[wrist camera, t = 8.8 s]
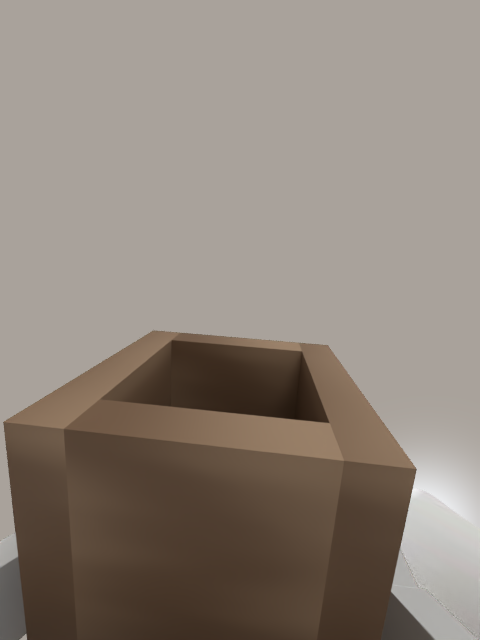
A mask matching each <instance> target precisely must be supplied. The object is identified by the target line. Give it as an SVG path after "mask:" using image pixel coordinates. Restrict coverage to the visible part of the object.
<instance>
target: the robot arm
mask: <svg viewBox="0 0 480 640" xmlns="http://www.w3.org/2000/svg"><path fill="white" fill-rule="evenodd" d="M25 634H26V624H25V615H24V606H23V596H22V587H21V578H20V569H19V560H18V551H17V542H16V532H15V533H14V534H12V535H10V536H8V537H6V538H4V539H2V540H1V541H0V640H19V639H20V638H22V637H23V636H24V635H25ZM381 640H478V639H477V638H476V637H475V636H474V635H473V634H472V633H471V632H470V631H469V630H468V629H467V628H466V627H465V626H464V625H463V624H462V623H461V622H459V621H458V620H457V619H456V618H455V617H454V616H453V615H452V614H451V613H450V612H449V611H448V610H447V609H446V608H445V607H444V606H443V605H442V604H441V603H440V602H439V601H438V600H437V599H436V598H435V597H434V596H433V595H432V594H430V593H429V592H428V591H427V590H426V589H422V588H419V587H418V585H417V583H416V581H415V579H414V577H413V575H412V573H411V570H410V568H409V566H408V564H407V562H406V560H405V558H404V555H403V553H402V551H401V549H400V551H399V555H398V560H397V565H396V570H395V574H394V579H393V584H392V589H391V594H390V598H389V603H388V608H387V613H386V617H385V622H384V627H383V632H382V636H381Z"/></svg>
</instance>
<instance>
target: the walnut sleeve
mask: <svg viewBox="0 0 480 640" xmlns="http://www.w3.org/2000/svg"><path fill="white" fill-rule="evenodd" d="M3 423H4V432H5V441H6V450H7V459H8V468H9V477H10V485H11V486H10V487H11V496H12V505H13V514H14V523H15V532H16V542H17V551H18V560H19V569H20V578H21V587H22V596H23V606H24V615H25V624H26V633H27V640H381V636H382V632H383V627H384V622H385V617H386V613H387V608H388V603H389V598H390V594H391V589H392V584H393V579H394V574H395V570H396V565H397V560H398V555H399V551H400V546H401V541H402V536H403V532H404V527H405V522H406V517H407V512H408V508H409V503H410V498H411V493H412V489H413V484H414V479H415V474H416V467H415V466H414V465H413V463H412V462H411V461H410V459H409V458H408V456H407V455H406V454H405V452H404V451H403V449H402V448H401V447H400V445H399V444H398V442H397V441H396V440H395V438H394V437H393V435H392V434H391V433H390V431H389V430H388V428H387V427H386V426H385V424H384V423H383V422H382V420H381V419H380V417H379V416H378V415H377V413H376V412H375V410H374V409H373V408H372V406H371V405H370V403H369V402H368V401H367V399H366V398H365V396H364V395H363V394H362V392H361V391H360V390H359V388H358V387H357V385H356V384H355V383H354V381H353V380H352V378H351V377H350V376H349V374H348V373H347V371H346V370H345V369H344V367H343V366H342V364H341V363H340V362H339V360H338V359H337V358H336V356H335V355H334V353H333V352H332V351H331V349H330V348H329V346H328V345H319V344H306V343H295V342H283V341H271V340H259V339H247V338H236V337H224V336H212V335H201V334H188V333H177V332H165V331H152V332H150V333H149V334H147V335H145V336H144V337H142V338H141V339H139V340H137V341H136V342H134V343H132V344H131V345H129V346H127V347H126V348H124V349H122V350H121V351H119V352H118V353H116V354H114V355H113V356H111V357H109V358H108V359H106V360H104V361H103V362H101V363H99V364H98V365H96V366H95V367H93V368H91V369H90V370H88V371H86V372H85V373H83V374H82V375H80V376H78V377H77V378H75V379H73V380H72V381H70V382H68V383H67V384H65V385H64V386H62V387H60V388H58V389H57V390H55V391H54V392H52V393H50V394H49V395H47V396H45V397H44V398H42V399H40V400H39V401H37V402H35V403H34V404H32V405H31V406H29V407H27V408H26V409H24V410H23V411H21V412H19V413H17V414H16V415H14V416H13V417H11V418H9V419H8V420H6V421H4V422H3Z"/></svg>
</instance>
